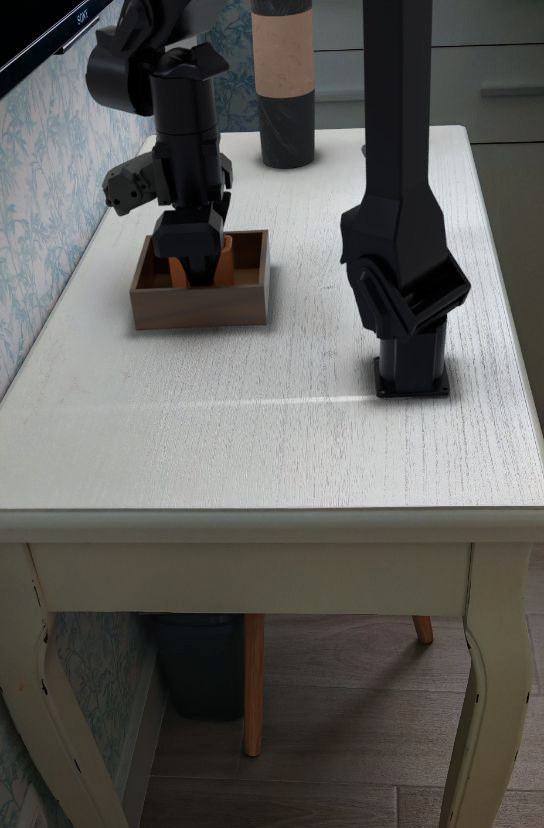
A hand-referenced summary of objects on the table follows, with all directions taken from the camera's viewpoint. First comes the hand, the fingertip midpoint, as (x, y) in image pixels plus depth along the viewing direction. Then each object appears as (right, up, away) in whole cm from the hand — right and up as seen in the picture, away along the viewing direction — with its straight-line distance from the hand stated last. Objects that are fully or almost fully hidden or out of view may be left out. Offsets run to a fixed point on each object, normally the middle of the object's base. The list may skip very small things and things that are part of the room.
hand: (205, 285), depth 95 cm
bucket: (0, -1, +1) cm, 1 cm away
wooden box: (0, -1, +1) cm, 2 cm away
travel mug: (+9, +27, +29) cm, 41 cm away
